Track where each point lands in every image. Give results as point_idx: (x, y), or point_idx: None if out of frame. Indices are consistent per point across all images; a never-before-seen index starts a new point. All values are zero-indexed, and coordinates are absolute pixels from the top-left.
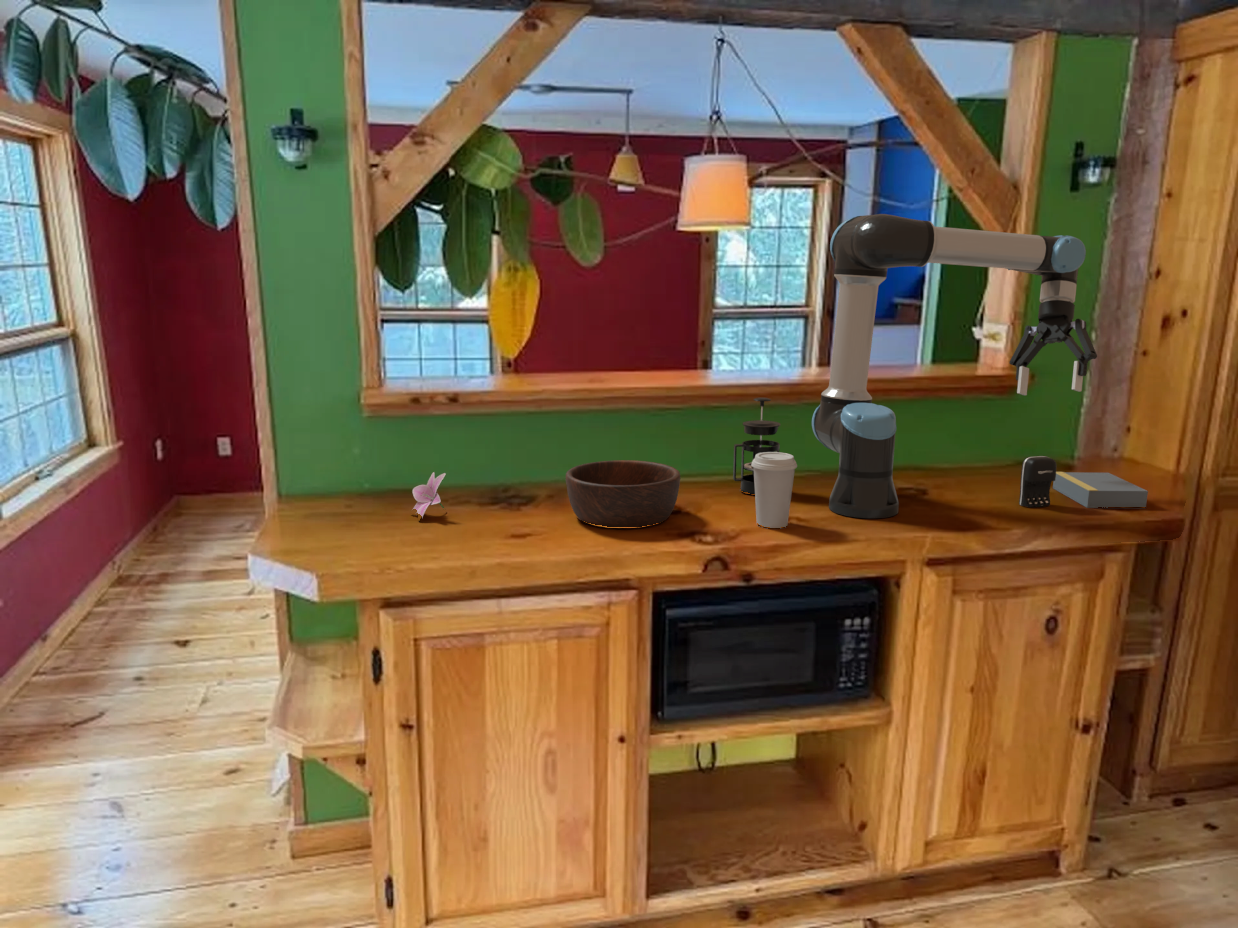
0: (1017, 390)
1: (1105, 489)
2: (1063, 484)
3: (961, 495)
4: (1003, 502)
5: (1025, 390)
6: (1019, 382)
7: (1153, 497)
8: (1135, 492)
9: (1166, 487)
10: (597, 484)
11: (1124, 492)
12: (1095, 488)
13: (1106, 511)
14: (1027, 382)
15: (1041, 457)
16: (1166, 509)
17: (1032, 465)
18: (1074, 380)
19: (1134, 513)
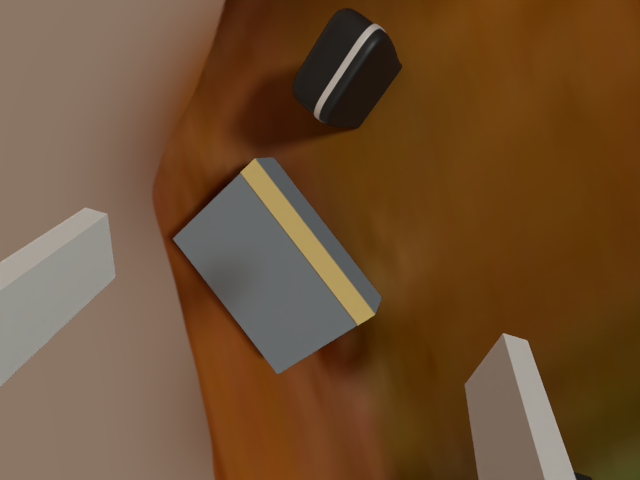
0: (531, 357)
1: (234, 197)
2: (343, 262)
3: (579, 57)
4: (444, 66)
5: (477, 400)
6: (539, 415)
7: (210, 325)
8: (190, 222)
9: (216, 415)
10: None
11: (204, 208)
12: (252, 193)
13: (237, 153)
14: (481, 475)
15: (329, 70)
16: (170, 244)
17: (345, 8)
18: (42, 245)
19: (198, 174)
